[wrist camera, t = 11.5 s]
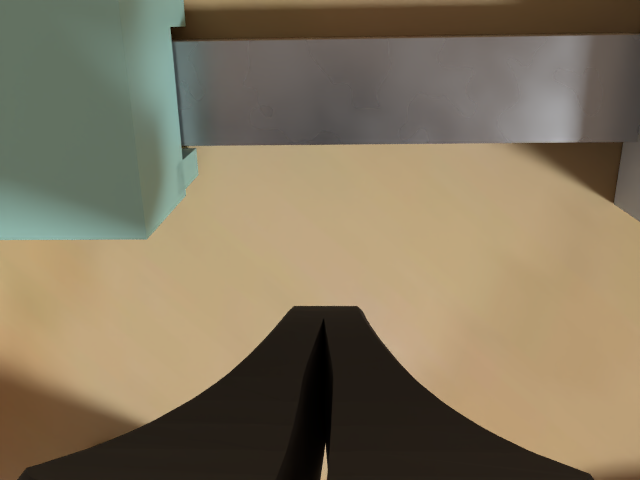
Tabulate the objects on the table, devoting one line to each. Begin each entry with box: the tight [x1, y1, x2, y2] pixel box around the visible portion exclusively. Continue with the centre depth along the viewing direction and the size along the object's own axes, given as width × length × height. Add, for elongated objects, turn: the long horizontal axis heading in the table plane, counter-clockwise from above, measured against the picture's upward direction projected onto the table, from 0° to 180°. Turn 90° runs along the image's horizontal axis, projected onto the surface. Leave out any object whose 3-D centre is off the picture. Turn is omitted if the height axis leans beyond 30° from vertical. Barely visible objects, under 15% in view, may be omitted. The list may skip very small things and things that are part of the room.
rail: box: [171, 33, 640, 146], centre depth 19 cm, size 3×22×2 cm, turn 91°
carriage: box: [0, 0, 198, 240], centre depth 17 cm, size 6×5×6 cm
